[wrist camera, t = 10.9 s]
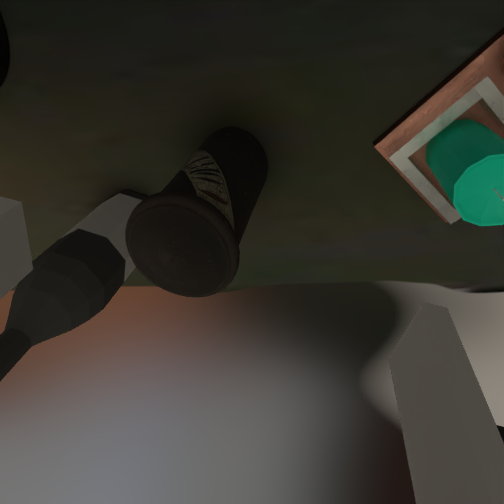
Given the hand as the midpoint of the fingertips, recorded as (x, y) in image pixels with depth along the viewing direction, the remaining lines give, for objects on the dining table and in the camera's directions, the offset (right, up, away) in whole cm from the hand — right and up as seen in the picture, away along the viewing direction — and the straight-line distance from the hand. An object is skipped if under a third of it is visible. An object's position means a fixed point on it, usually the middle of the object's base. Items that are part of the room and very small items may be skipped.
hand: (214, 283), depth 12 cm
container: (-1, +11, +31) cm, 33 cm away
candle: (+22, +11, +25) cm, 35 cm away
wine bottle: (-14, +6, +38) cm, 41 cm away
